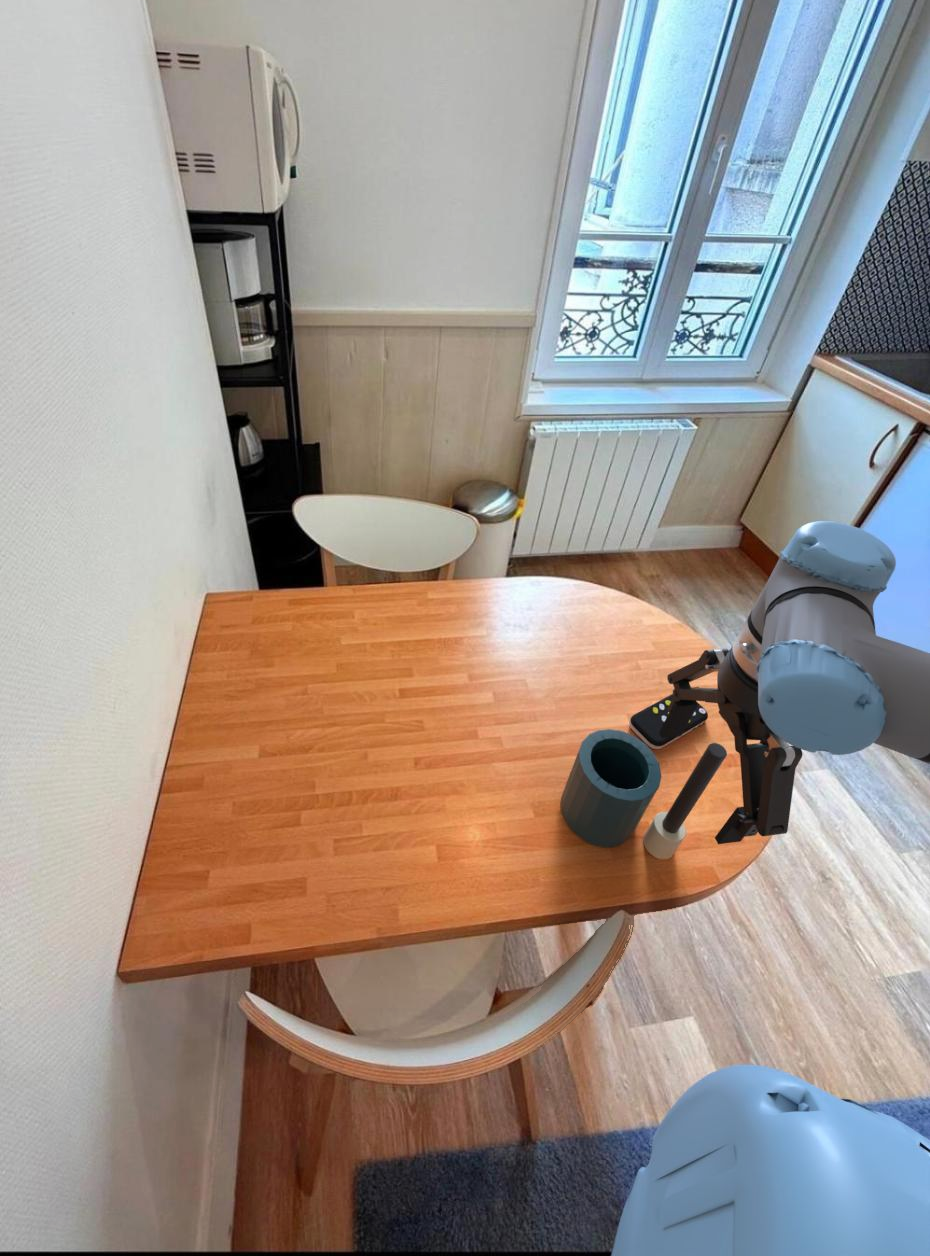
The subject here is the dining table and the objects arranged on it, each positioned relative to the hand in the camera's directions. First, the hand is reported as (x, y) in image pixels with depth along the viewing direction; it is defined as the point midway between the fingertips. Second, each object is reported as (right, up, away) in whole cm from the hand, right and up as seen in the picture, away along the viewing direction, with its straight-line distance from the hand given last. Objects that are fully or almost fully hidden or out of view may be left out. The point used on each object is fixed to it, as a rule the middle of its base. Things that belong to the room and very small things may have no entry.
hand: (696, 783), depth 73 cm
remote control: (+7, 0, +25) cm, 26 cm away
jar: (-8, -9, +13) cm, 17 cm away
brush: (-1, -12, +9) cm, 15 cm away
